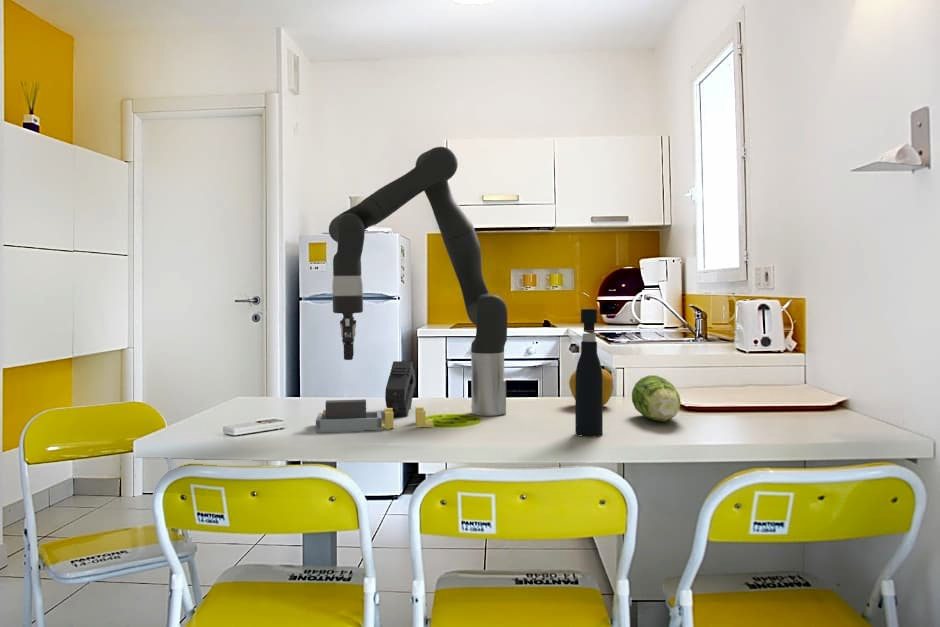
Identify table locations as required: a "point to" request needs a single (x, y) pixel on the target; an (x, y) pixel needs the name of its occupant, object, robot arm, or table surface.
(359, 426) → the tray
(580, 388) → the wine bottle
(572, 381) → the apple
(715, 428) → the table surface
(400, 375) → the tool
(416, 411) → the blocks
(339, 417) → the grey slab
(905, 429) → the table surface
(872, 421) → the table surface
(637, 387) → the lettuce
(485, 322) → the robot arm
